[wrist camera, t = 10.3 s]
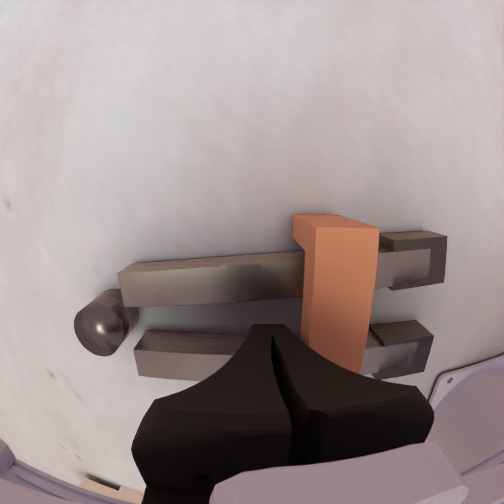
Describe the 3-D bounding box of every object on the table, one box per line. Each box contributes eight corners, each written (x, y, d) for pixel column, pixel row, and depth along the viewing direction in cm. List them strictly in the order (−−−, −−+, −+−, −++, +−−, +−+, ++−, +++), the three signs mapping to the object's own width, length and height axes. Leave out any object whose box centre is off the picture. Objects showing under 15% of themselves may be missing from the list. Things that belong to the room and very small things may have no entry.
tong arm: (138, 297, 13) (125, 311, 12) (130, 253, 13) (115, 261, 11) (425, 273, 13) (443, 282, 11) (427, 230, 13) (447, 236, 11)
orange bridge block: (284, 395, 14) (294, 456, 10) (292, 214, 12) (316, 227, 8) (320, 392, 14) (338, 450, 10) (337, 215, 13) (379, 228, 8)
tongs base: (108, 357, 14) (89, 382, 12) (95, 288, 13) (69, 306, 11) (408, 353, 14) (428, 377, 12) (422, 286, 14) (449, 303, 11)
